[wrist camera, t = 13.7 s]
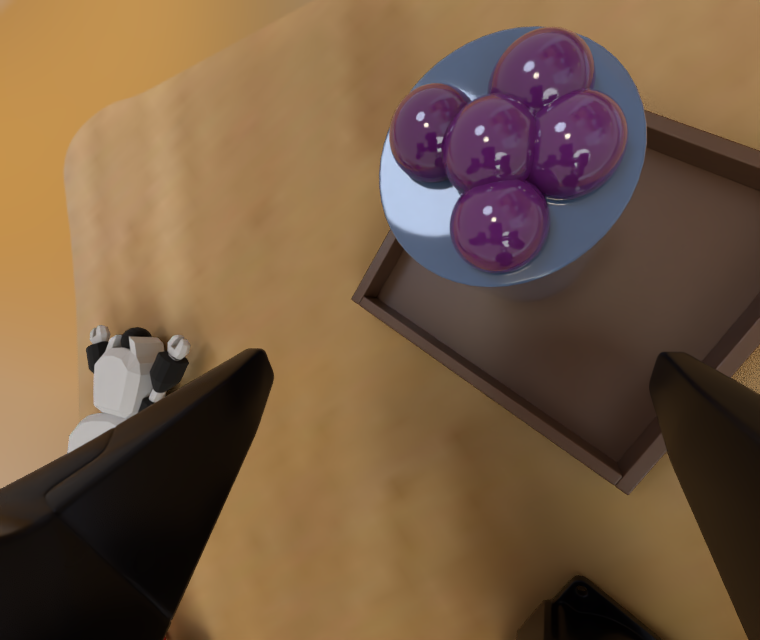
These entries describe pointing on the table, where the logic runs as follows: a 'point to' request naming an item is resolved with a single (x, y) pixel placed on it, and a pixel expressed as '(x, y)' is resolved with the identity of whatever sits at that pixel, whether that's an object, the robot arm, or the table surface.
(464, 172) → the grape cup
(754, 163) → the tray
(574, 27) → the table surface
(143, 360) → the robot toy
